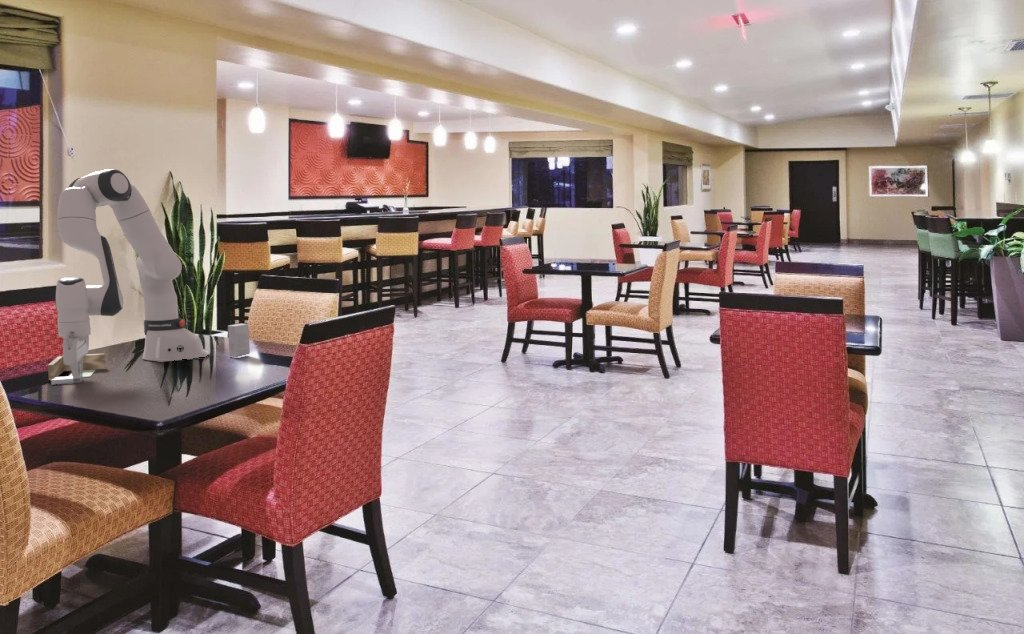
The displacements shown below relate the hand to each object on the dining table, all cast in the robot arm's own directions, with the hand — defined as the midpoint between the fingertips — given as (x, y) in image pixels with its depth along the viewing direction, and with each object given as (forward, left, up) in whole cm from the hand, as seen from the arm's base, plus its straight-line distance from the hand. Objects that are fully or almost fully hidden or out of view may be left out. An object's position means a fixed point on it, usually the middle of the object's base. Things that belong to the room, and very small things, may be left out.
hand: (77, 373), depth 249 cm
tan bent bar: (+2, -12, -3) cm, 12 cm away
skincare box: (-48, -27, -3) cm, 55 cm away
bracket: (+3, 0, -3) cm, 4 cm away
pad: (+1, -12, -3) cm, 12 cm away
